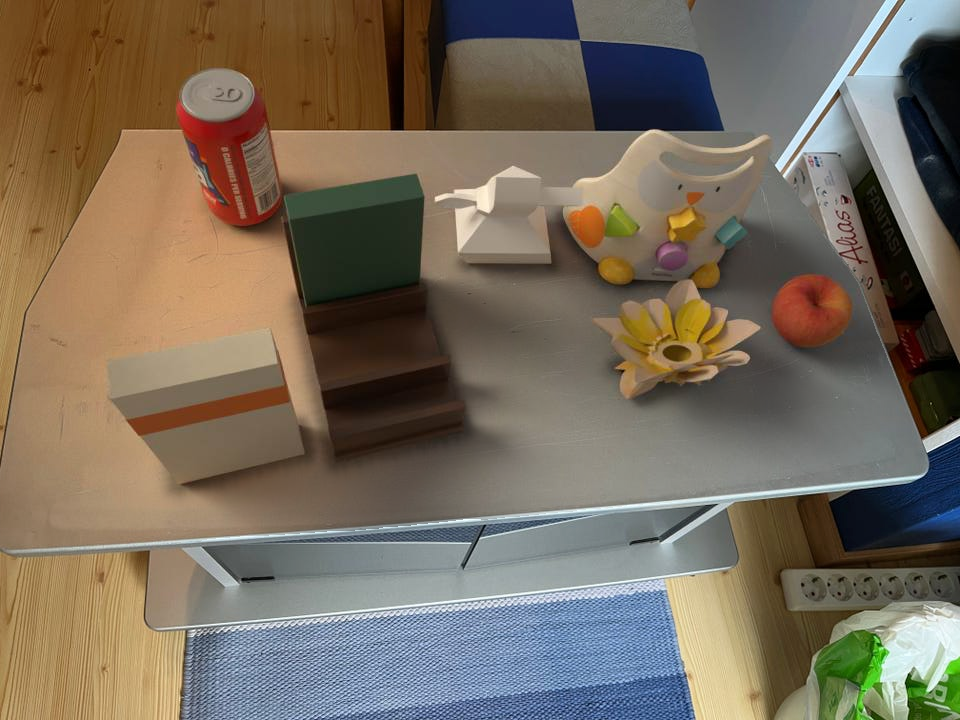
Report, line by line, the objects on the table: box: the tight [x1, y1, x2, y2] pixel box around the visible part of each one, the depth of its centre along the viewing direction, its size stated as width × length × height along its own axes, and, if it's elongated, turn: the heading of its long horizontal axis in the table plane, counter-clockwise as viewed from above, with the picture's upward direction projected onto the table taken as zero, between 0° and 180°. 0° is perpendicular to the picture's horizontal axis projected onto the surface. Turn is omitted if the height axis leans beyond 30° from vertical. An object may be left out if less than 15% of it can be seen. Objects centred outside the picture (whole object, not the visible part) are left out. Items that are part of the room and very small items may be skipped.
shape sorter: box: [562, 129, 774, 289], centre depth 75 cm, size 20×10×18 cm, turn 92°
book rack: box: [280, 214, 467, 463], centre depth 67 cm, size 18×12×13 cm, turn 17°
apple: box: [771, 273, 854, 348], centre depth 76 cm, size 7×7×8 cm
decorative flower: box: [590, 279, 761, 400], centre depth 72 cm, size 15×11×10 cm
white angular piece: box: [434, 165, 583, 265], centre depth 75 cm, size 8×14×14 cm, turn 94°
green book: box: [283, 173, 426, 307], centre depth 67 cm, size 3×11×16 cm, turn 107°
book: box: [105, 327, 306, 485], centre depth 59 cm, size 3×11×18 cm, turn 107°
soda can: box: [176, 67, 283, 227], centre depth 73 cm, size 8×8×15 cm
